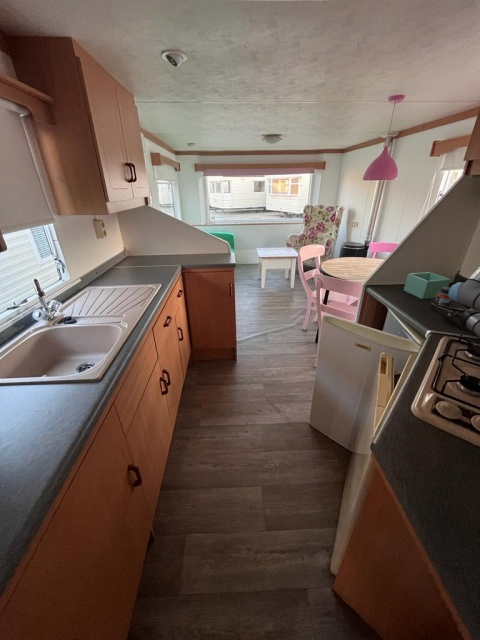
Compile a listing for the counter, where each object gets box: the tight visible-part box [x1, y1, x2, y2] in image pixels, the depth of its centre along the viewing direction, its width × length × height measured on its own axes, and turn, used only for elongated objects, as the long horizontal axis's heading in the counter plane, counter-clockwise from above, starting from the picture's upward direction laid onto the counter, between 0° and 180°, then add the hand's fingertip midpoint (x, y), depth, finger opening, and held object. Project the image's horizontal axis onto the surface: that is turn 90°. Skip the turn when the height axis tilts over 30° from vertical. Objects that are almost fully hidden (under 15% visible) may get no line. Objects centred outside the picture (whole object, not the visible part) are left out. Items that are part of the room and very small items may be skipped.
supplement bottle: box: [434, 286, 452, 307], centre depth 124 cm, size 6×6×11 cm
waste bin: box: [403, 271, 451, 300], centre depth 144 cm, size 14×14×10 cm
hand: (445, 300), depth 123 cm, fingers open, 13 cm apart
